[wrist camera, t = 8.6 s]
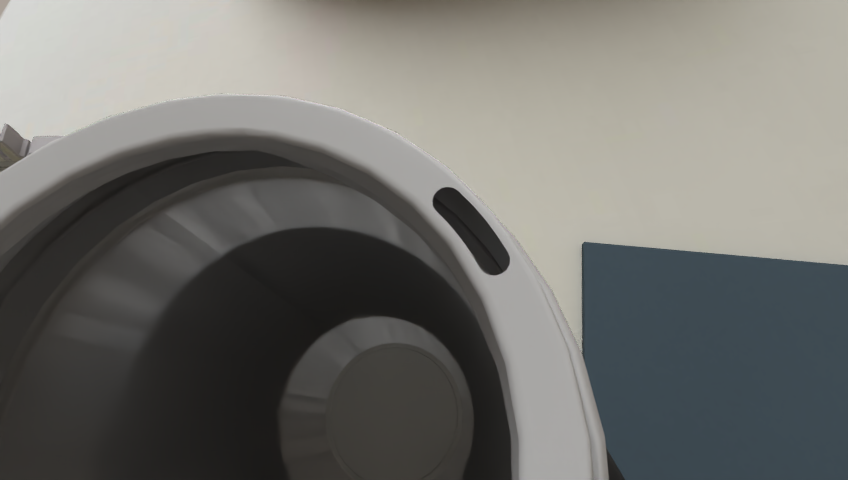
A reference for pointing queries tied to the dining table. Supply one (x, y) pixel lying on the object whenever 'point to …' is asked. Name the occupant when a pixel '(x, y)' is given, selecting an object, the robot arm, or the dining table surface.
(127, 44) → the dining table surface
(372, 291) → the cup
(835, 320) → the mat
